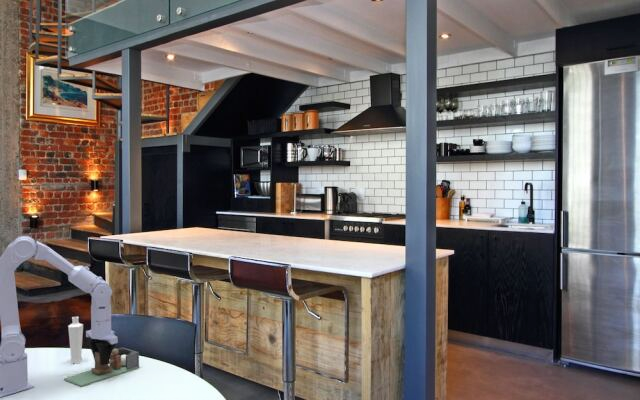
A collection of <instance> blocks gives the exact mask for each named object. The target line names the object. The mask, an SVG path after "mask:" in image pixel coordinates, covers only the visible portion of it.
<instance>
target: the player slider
mask: <svg viewBox="0 0 640 400" xmlns="http://www.w3.org/2000/svg"><path fill="white" fill-rule="evenodd" d="M118 349H119V348H113V349H112V354H111V355H110V360H109V363H108V364H105V365H101V361H100V354H99V351H97V352H95V360H94V367H91V372H92V373H94V374H97V375H100V374H104V373H107V372H110V371H112V368H115V369H119V368H121V355H118V352H119V351H118ZM108 365H110V366H108Z"/></svg>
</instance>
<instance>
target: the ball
mask: <svg viewBox="0 0 640 400" xmlns="http://www.w3.org/2000/svg"><path fill="white" fill-rule="evenodd" d="M121 366H126V355H121Z"/></svg>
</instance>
